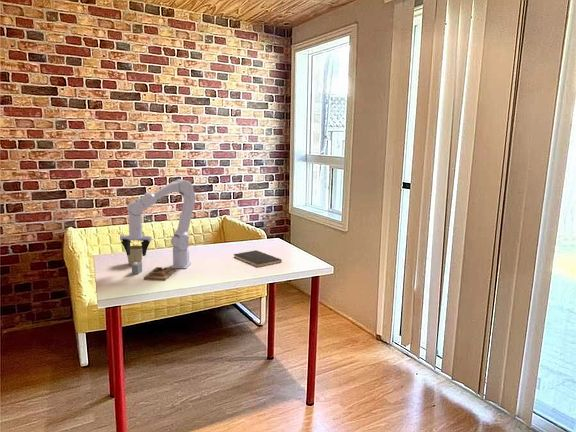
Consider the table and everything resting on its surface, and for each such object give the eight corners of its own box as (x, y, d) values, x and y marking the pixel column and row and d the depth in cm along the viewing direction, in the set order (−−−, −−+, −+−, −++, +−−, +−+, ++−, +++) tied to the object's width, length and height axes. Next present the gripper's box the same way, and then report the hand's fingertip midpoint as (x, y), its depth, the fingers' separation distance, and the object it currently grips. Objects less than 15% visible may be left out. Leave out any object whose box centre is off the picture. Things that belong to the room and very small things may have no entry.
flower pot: (130, 267, 206) (129, 250, 204) (122, 263, 212) (121, 247, 210) (148, 264, 212) (147, 247, 211) (139, 260, 219) (138, 244, 217)
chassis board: (155, 270, 203) (155, 265, 202) (175, 271, 202) (175, 266, 202) (144, 279, 189) (143, 274, 188) (165, 280, 188) (165, 275, 188)
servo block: (136, 271, 201) (135, 260, 200) (142, 271, 200) (141, 260, 199) (131, 274, 196) (131, 263, 195) (138, 274, 195) (137, 263, 195)
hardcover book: (257, 268, 212) (257, 263, 212) (233, 258, 230) (233, 254, 229) (281, 263, 222) (281, 259, 222) (256, 253, 240) (257, 250, 239)
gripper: (116, 228, 191) (117, 256, 193) (147, 229, 190) (148, 258, 192) (123, 225, 198) (124, 252, 200) (153, 226, 197) (153, 254, 199)
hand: (136, 255), depth 196 cm, fingers open, 7 cm apart
